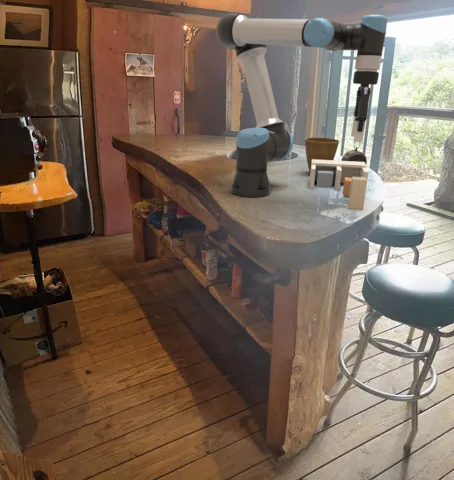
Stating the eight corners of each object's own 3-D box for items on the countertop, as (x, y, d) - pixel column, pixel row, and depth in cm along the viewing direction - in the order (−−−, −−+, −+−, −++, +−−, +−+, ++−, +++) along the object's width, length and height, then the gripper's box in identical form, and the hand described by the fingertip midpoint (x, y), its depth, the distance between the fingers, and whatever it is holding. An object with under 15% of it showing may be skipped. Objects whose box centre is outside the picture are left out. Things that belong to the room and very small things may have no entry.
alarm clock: (359, 175, 185) (364, 139, 179) (366, 178, 180) (371, 141, 174) (338, 176, 183) (342, 140, 177) (344, 179, 178) (349, 141, 172)
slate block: (316, 186, 164) (318, 172, 162) (316, 183, 170) (317, 169, 167) (331, 187, 163) (333, 173, 161) (331, 184, 169) (332, 170, 166)
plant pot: (295, 174, 185) (298, 139, 179) (313, 170, 195) (316, 136, 189) (324, 180, 175) (328, 143, 169) (340, 175, 185) (345, 139, 179)
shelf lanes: (309, 188, 161) (311, 166, 158) (309, 179, 175) (311, 159, 172) (365, 192, 157) (369, 169, 154) (361, 183, 171) (364, 161, 168)
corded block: (347, 208, 137) (350, 179, 133) (342, 192, 156) (345, 167, 152) (365, 209, 136) (369, 180, 132) (358, 193, 155) (362, 167, 151)
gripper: (384, 70, 115) (371, 145, 123) (374, 71, 138) (364, 135, 146) (357, 69, 117) (346, 143, 125) (352, 71, 139) (343, 133, 147)
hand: (356, 139), depth 135 cm, fingers open, 13 cm apart
